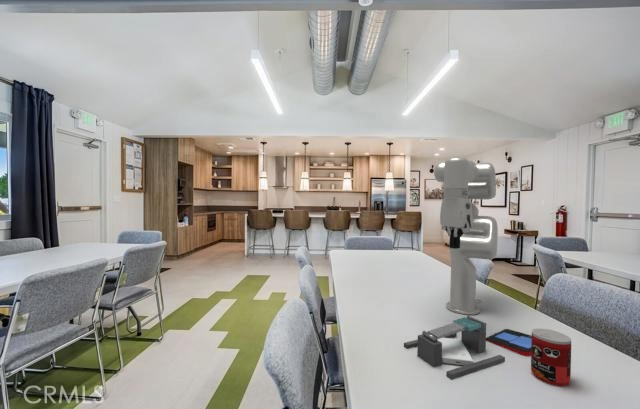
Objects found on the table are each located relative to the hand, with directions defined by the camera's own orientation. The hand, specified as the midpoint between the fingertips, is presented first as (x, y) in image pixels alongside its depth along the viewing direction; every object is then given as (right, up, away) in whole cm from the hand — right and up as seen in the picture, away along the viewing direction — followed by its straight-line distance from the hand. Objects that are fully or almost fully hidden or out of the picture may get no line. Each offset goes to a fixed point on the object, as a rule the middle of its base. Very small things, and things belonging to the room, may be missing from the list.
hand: (454, 248), depth 97 cm
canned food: (+13, -30, -25) cm, 41 cm away
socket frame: (-7, -29, -14) cm, 33 cm away
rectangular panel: (-8, -22, -14) cm, 27 cm away
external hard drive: (-7, -29, -14) cm, 33 cm away
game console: (+17, -30, -6) cm, 35 cm away
